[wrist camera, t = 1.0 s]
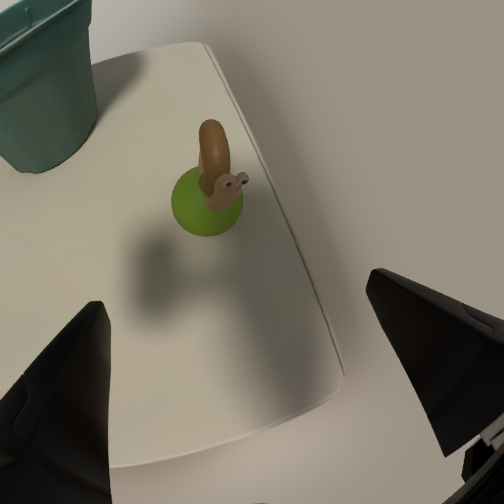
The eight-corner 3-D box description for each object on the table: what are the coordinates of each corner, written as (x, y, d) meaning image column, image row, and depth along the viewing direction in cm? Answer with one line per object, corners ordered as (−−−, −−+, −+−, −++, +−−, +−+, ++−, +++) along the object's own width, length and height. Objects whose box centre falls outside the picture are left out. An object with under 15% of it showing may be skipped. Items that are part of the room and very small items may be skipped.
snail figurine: (181, 263, 21) (169, 193, 10) (169, 192, 23) (158, 87, 11) (246, 249, 23) (297, 175, 11) (229, 182, 24) (258, 80, 13)
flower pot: (129, 75, 26) (121, -35, 10) (102, 185, 22) (38, 39, 6) (26, 98, 22) (-9, 14, 7) (-15, 203, 18) (-95, 125, 3)
